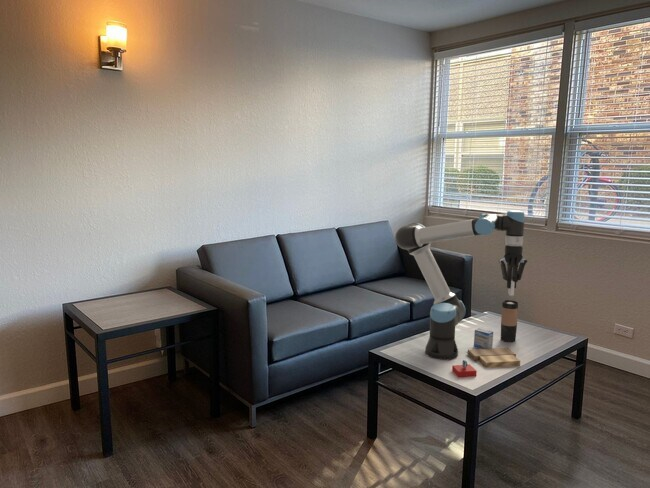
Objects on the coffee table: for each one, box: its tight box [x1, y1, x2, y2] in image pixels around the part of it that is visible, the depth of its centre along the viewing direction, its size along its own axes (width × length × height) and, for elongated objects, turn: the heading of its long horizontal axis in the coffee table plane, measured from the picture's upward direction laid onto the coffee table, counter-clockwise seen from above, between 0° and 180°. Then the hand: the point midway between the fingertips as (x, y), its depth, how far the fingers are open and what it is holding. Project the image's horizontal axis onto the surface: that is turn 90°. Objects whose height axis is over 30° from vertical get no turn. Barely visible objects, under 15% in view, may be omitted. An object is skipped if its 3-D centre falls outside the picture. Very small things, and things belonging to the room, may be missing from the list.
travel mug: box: [500, 299, 519, 343], centre depth 259 cm, size 8×8×20 cm
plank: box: [478, 355, 521, 369], centre depth 231 cm, size 16×7×2 cm, turn 97°
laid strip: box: [467, 347, 517, 362], centre depth 239 cm, size 20×8×2 cm, turn 97°
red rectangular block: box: [451, 359, 477, 378], centre depth 220 cm, size 8×7×6 cm
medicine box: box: [473, 328, 494, 349], centre depth 250 cm, size 8×4×9 cm, turn 47°
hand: (510, 294), depth 236 cm, fingers closed
